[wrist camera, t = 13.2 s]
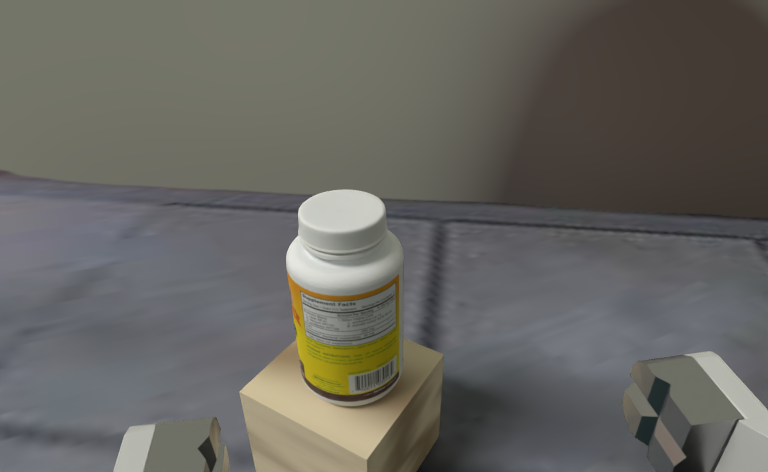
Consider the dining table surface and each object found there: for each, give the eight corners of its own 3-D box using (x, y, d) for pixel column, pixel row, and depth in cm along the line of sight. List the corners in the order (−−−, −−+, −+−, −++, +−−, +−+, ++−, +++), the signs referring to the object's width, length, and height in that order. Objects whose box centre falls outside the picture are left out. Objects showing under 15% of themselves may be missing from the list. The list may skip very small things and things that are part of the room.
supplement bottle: (329, 328, 33) (316, 173, 28) (417, 351, 32) (421, 191, 26) (281, 394, 29) (255, 226, 24) (379, 426, 27) (375, 252, 22)
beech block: (335, 387, 39) (329, 308, 35) (438, 436, 35) (443, 354, 31) (256, 474, 33) (239, 391, 29) (370, 544, 29) (366, 459, 26)
